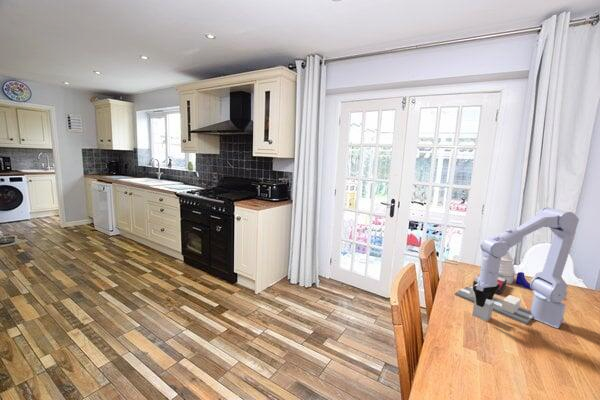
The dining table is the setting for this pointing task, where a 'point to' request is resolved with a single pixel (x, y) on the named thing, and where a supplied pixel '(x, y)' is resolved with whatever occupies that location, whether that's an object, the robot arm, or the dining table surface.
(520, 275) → the blue shoe
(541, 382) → the dining table surface
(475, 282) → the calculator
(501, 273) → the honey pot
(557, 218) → the robot arm
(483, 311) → the block
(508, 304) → the mounted modules
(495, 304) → the rail board
